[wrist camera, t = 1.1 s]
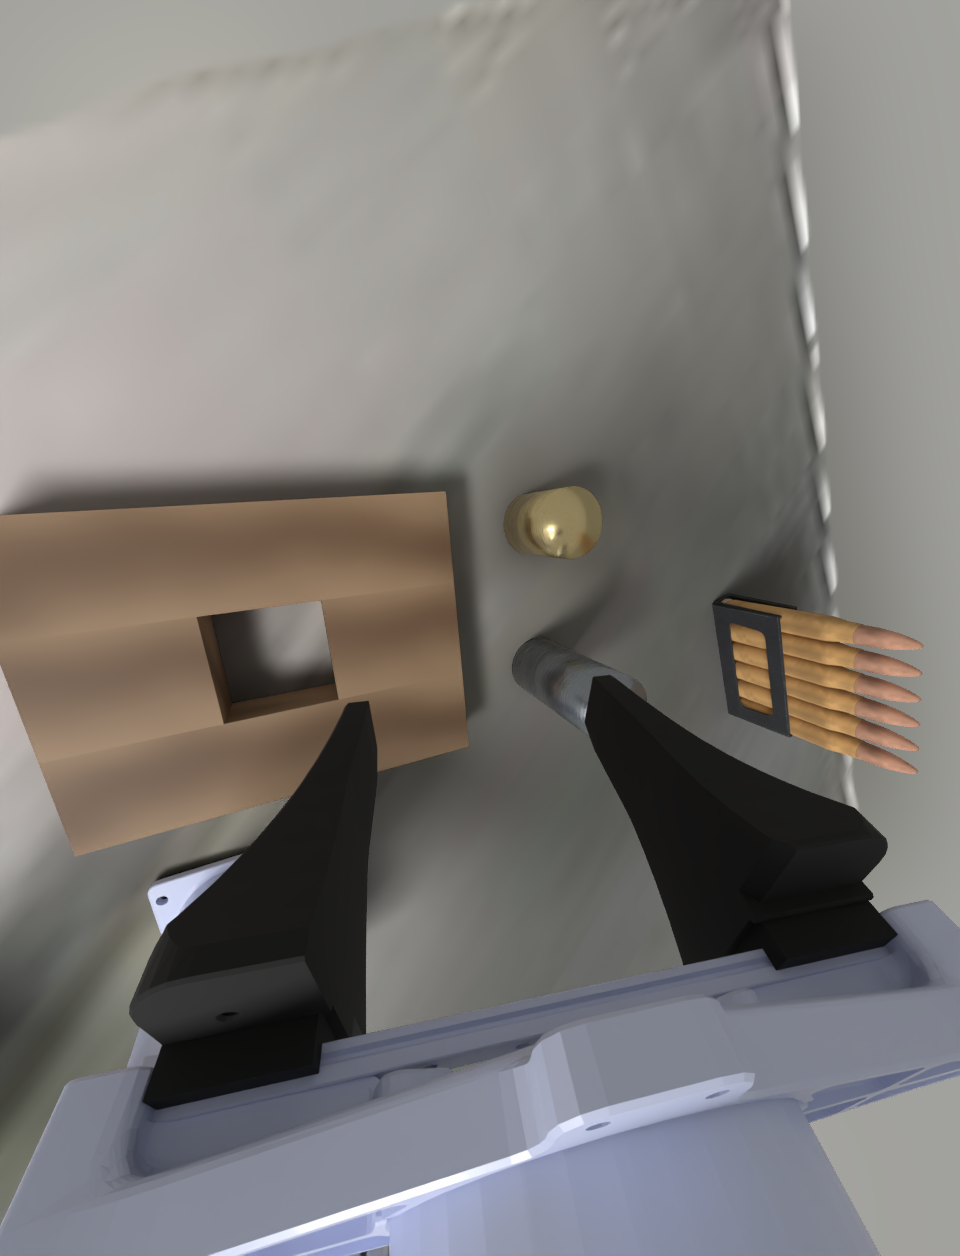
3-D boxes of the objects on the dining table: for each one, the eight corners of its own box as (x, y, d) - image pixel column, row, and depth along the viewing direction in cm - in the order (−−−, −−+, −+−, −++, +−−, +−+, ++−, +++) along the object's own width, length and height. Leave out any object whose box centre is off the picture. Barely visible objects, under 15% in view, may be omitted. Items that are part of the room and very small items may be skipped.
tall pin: (560, 683, 29) (646, 735, 22) (513, 695, 28) (587, 754, 20) (559, 633, 28) (648, 670, 21) (510, 643, 27) (587, 685, 19)
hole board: (455, 727, 26) (469, 746, 24) (100, 820, 20) (75, 856, 18) (431, 495, 23) (445, 491, 21) (-8, 519, 17) (-58, 518, 14)
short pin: (556, 551, 27) (602, 555, 22) (505, 557, 25) (543, 562, 21) (555, 491, 26) (602, 484, 22) (501, 494, 24) (541, 487, 20)
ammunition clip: (711, 602, 33) (913, 638, 22) (728, 592, 33) (934, 623, 22) (728, 714, 36) (908, 792, 26) (743, 704, 37) (926, 776, 26)
